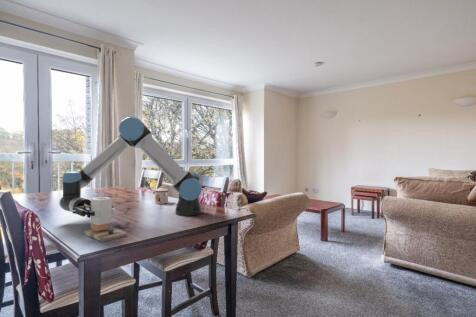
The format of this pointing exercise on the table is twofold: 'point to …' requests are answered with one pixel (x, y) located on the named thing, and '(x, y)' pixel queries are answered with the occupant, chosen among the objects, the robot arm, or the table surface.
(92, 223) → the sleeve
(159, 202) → the wooden birdhouse
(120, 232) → the pin board
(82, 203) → the robot arm
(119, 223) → the table surface
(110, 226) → the steel pin
